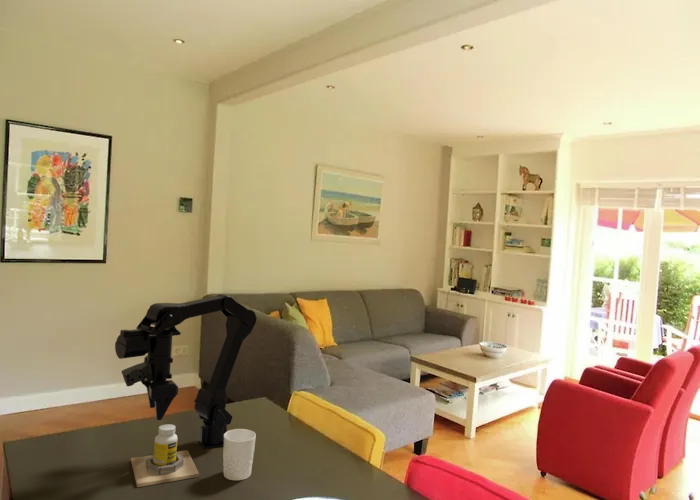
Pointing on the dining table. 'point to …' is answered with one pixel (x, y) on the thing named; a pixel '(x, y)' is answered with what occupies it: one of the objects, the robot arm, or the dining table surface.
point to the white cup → (238, 453)
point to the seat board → (163, 469)
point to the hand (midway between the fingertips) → (155, 413)
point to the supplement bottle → (165, 446)
